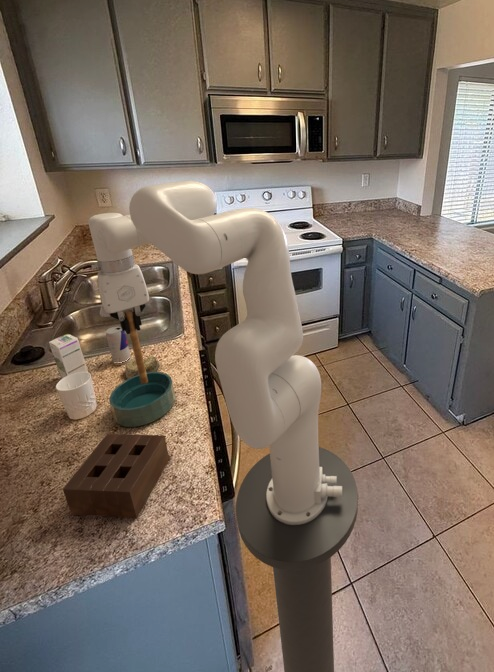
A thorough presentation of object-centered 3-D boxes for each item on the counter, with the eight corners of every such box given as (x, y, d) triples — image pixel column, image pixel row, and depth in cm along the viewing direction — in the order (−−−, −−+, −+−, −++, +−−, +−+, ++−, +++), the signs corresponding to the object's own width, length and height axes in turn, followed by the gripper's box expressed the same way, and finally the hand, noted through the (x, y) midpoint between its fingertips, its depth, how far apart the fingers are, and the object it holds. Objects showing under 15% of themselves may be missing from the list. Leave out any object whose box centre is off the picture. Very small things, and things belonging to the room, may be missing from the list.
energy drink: (134, 357, 122) (127, 326, 118) (122, 366, 117) (114, 335, 113) (122, 355, 124) (115, 324, 120) (109, 364, 119) (101, 332, 115)
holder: (169, 458, 83) (164, 435, 81) (136, 518, 70) (129, 492, 68) (113, 456, 84) (107, 433, 82) (71, 514, 71) (62, 489, 69)
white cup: (67, 426, 93) (57, 395, 90) (64, 409, 99) (54, 379, 96) (101, 411, 98) (93, 381, 95) (97, 396, 104) (88, 367, 101)
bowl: (184, 389, 106) (181, 372, 104) (158, 429, 92) (154, 410, 90) (135, 388, 107) (131, 371, 105) (101, 427, 93) (96, 409, 91)
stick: (149, 380, 99) (133, 309, 92) (146, 384, 97) (129, 312, 90) (143, 380, 99) (126, 309, 92) (139, 384, 98) (122, 312, 90)
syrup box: (90, 376, 113) (79, 336, 108) (70, 387, 108) (57, 346, 103) (80, 371, 115) (69, 332, 111) (60, 382, 111) (47, 341, 106)
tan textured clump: (159, 377, 113) (155, 363, 110) (123, 385, 109) (119, 372, 107) (160, 357, 121) (156, 344, 119) (127, 365, 118) (123, 352, 116)
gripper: (81, 276, 80) (101, 347, 85) (155, 259, 89) (168, 324, 95) (76, 268, 85) (95, 336, 91) (146, 253, 95) (159, 315, 101)
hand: (132, 329), depth 93 cm, fingers closed on stick, 1 cm apart
